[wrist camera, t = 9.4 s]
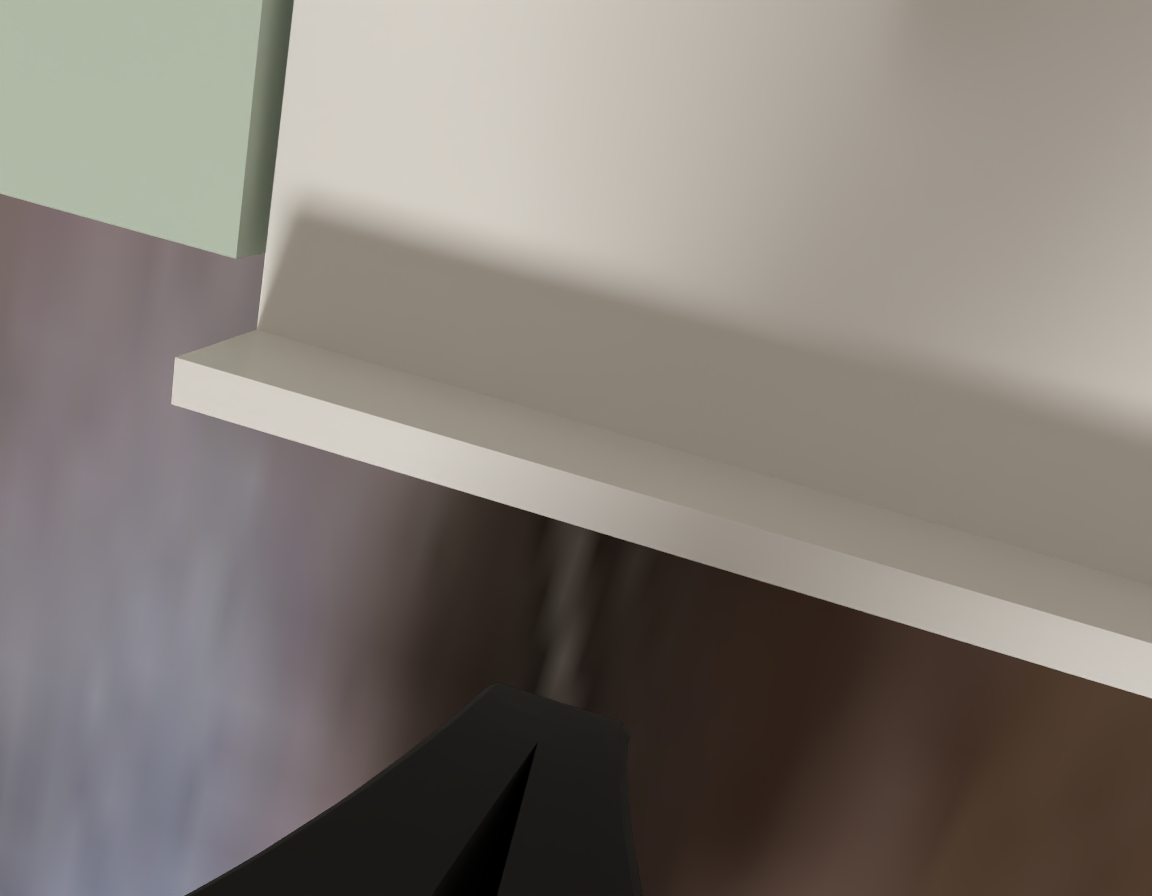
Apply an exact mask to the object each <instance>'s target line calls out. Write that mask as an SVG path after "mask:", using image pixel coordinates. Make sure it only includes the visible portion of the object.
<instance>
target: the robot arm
mask: <svg viewBox="0 0 1152 896" xmlns="http://www.w3.org/2000/svg"><path fill="white" fill-rule="evenodd" d="M629 737H630V736H629V734H628V733H627V731H626V729H625V727H624V726H623V724H622V722H620V721H617V720H614V719H611V718H608V717H605V716H601V715H598V714H595V713H592V712H589V711H586V710H582V709H579V708H576V707H573V706H570V705H567V704H564V703H560V702H557V701H554V700H551V699H548V698H545V697H541V696H538V695H535V694H532V693H529V692H526V691H522V690H519V689H516V688H513V687H510V686H507V685H504V684H500V683H496V684H494V685H492V686H490V687H487V688H485V689H484V690H483V691H481V692H480V693H479V694H478V695H477V696H476V697H475V698H474V699H473V700H471V701H470V702H469V703H468V704H467V705H466V706H465V707H463V708H462V709H461V710H460V711H459V712H458V713H456V714H455V715H454V716H453V717H452V718H450V719H449V720H448V721H447V722H446V723H444V724H443V725H442V726H441V727H439V728H438V729H437V730H436V731H435V732H433V733H432V734H431V735H429V736H428V737H427V738H426V739H424V740H423V741H422V742H421V743H419V744H418V745H417V746H415V747H414V748H413V749H412V750H410V751H409V752H408V753H406V754H405V755H404V756H402V757H401V758H400V759H398V760H397V761H395V762H394V763H393V764H391V765H390V766H389V767H387V768H386V769H384V770H383V771H382V772H380V773H379V774H378V775H376V776H375V777H373V778H372V779H371V780H369V781H368V782H367V783H365V784H364V785H362V786H361V787H360V788H358V789H357V790H356V791H354V792H353V793H351V794H350V795H348V796H347V797H346V798H344V799H343V800H341V801H340V802H338V803H337V804H335V805H334V806H332V807H331V808H329V809H328V810H326V811H324V812H323V813H321V814H320V815H318V816H317V817H315V818H314V819H312V820H310V821H309V822H307V823H306V824H304V825H303V826H301V827H299V828H298V829H296V830H295V831H293V832H292V833H290V834H289V835H287V836H285V837H284V838H282V839H281V840H279V841H278V842H276V843H274V844H273V845H271V846H270V847H268V848H267V849H265V850H264V851H262V852H260V853H259V854H257V855H255V856H254V857H252V858H250V859H249V860H247V861H245V862H243V863H242V864H240V865H238V866H237V867H235V868H233V869H231V870H230V871H228V872H226V873H225V874H223V875H221V876H219V877H218V878H216V879H214V880H212V881H210V882H209V883H207V884H205V885H203V886H201V887H200V888H198V889H196V890H194V891H192V892H191V893H189V894H187V895H185V896H643V895H642V889H641V884H640V878H639V872H638V867H637V861H636V855H635V849H634V842H633V835H632V827H631V817H630V807H629V797H628V780H627V754H628V742H629Z"/></svg>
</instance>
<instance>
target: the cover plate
mask: <svg viewBox="0 0 1152 896" xmlns="http://www.w3.org/2000/svg"><path fill="white" fill-rule="evenodd" d="M293 5H294V0H0V194H4V195H7V196H11V197H15V198H18V199H22V200H25V201H29V202H33V203H36V204H40V205H44V206H47V207H51V208H54V209H58V210H62V211H65V212H69V213H72V214H76V215H80V216H83V217H87V218H91V219H94V220H98V221H101V222H105V223H109V224H112V225H116V226H120V227H123V228H127V229H130V230H134V231H138V232H141V233H145V234H148V235H152V236H156V237H159V238H163V239H167V240H170V241H174V242H177V243H181V244H185V245H188V246H192V247H195V248H199V249H203V250H206V251H210V252H214V253H217V254H221V255H224V256H228V257H232V258H235V259H237V258H242V257H247V256H252V255H257V254H262V253H266V244H267V236H268V227H269V218H270V209H271V200H272V191H273V182H274V174H275V165H276V156H277V147H278V138H279V129H280V120H281V112H282V103H283V94H284V85H285V76H286V67H287V58H288V50H289V41H290V32H291V23H292V14H293Z"/></svg>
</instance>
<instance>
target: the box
mask: <svg viewBox="0 0 1152 896" xmlns="http://www.w3.org/2000/svg"><path fill="white" fill-rule="evenodd" d="M171 404H173V405H176V406H179V407H183V408H186V409H189V410H193V411H196V412H199V413H203V414H206V415H209V416H213V417H216V418H219V419H223V420H226V421H229V422H233V423H236V424H239V425H243V426H246V427H249V428H253V429H256V430H259V431H263V432H266V433H269V434H273V435H276V436H279V437H283V438H286V439H289V440H293V441H296V442H299V443H303V444H306V445H309V446H313V447H316V448H319V449H323V450H326V451H329V452H333V453H336V454H339V455H343V456H346V457H349V458H353V459H356V460H359V461H363V462H366V463H369V464H373V465H376V466H379V467H383V468H386V469H389V470H393V471H396V472H399V473H403V474H406V475H409V476H413V477H416V478H419V479H423V480H426V481H429V482H433V483H436V484H439V485H443V486H446V487H449V488H453V489H456V490H459V491H463V492H466V493H469V494H473V495H476V496H479V497H483V498H486V499H489V500H493V501H496V502H499V503H503V504H506V505H509V506H513V507H516V508H519V509H523V510H526V511H529V512H533V513H536V514H539V515H543V516H546V517H549V518H553V519H556V520H559V521H563V522H566V523H569V524H573V525H576V526H579V527H583V528H586V529H589V530H593V531H596V532H599V533H603V534H606V535H609V536H613V537H616V538H619V539H623V540H626V541H629V542H633V543H636V544H639V545H643V546H646V547H649V548H653V549H656V550H659V551H663V552H666V553H669V554H673V555H676V556H679V557H683V558H686V559H689V560H693V561H696V562H699V563H703V564H706V565H709V566H713V567H716V568H719V569H723V570H726V571H729V572H733V573H736V574H739V575H743V576H746V577H749V578H753V579H756V580H759V581H763V582H766V583H769V584H773V585H776V586H779V587H783V588H786V589H789V590H793V591H796V592H799V593H803V594H806V595H809V596H813V597H816V598H819V599H823V600H826V601H829V602H833V603H836V604H839V605H843V606H846V607H849V608H853V609H856V610H859V611H863V612H866V613H869V614H873V615H876V616H879V617H883V618H886V619H889V620H893V621H896V622H899V623H903V624H906V625H909V626H913V627H916V628H919V629H923V630H926V631H929V632H933V633H936V634H939V635H943V636H946V637H949V638H953V639H956V640H959V641H963V642H966V643H969V644H973V645H976V646H979V647H983V648H986V649H989V650H993V651H996V652H999V653H1003V654H1006V655H1009V656H1013V657H1016V658H1019V659H1023V660H1026V661H1029V662H1033V663H1036V664H1039V665H1043V666H1046V667H1049V668H1053V669H1056V670H1059V671H1063V672H1066V673H1069V674H1073V675H1076V676H1079V677H1083V678H1086V679H1089V680H1093V681H1096V682H1099V683H1103V684H1106V685H1109V686H1113V687H1116V688H1119V689H1123V690H1126V691H1129V692H1133V693H1136V694H1139V695H1143V696H1146V697H1149V698H1152V0H294V5H293V14H292V23H291V32H290V41H289V50H288V58H287V67H286V76H285V85H284V94H283V103H282V112H281V120H280V129H279V138H278V147H277V156H276V165H275V174H274V182H273V191H272V200H271V209H270V218H269V227H268V236H267V244H266V253H265V262H264V271H263V280H262V289H261V298H260V306H259V315H258V324H257V330H254V331H251V332H248V333H245V334H242V335H240V336H237V337H234V338H231V339H228V340H225V341H222V342H219V343H216V344H213V345H210V346H207V347H204V348H201V349H198V350H195V351H192V352H189V353H187V354H184V355H181V356H178V357H175V366H174V378H173V390H172V402H171Z"/></svg>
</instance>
